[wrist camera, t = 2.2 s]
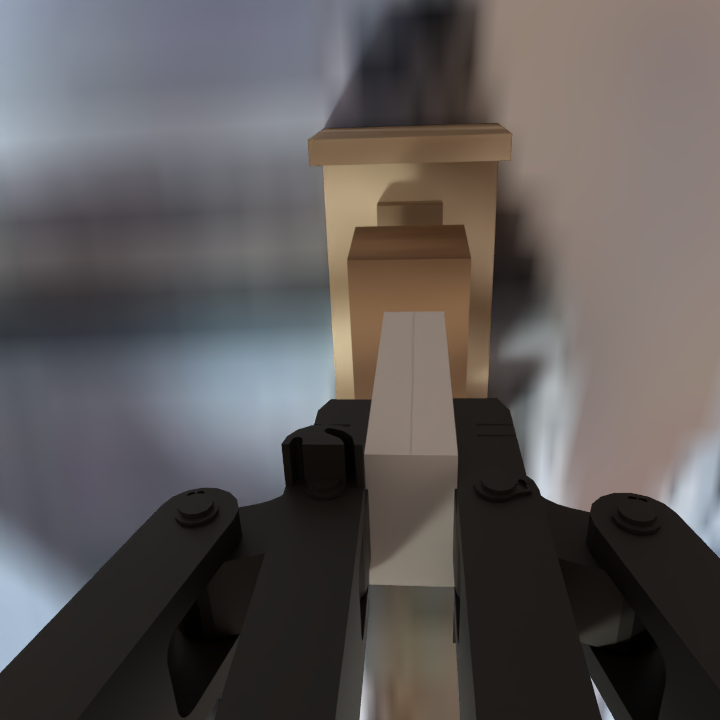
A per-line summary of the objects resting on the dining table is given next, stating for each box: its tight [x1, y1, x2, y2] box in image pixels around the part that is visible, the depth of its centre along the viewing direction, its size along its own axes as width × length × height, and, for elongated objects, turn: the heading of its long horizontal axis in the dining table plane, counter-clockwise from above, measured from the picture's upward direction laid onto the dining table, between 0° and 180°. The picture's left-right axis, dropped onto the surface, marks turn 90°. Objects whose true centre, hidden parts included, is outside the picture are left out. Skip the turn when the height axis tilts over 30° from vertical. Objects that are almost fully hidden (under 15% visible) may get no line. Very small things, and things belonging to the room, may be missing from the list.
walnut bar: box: [347, 225, 471, 399], centre depth 28 cm, size 11×4×4 cm, turn 2°
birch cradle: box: [308, 123, 512, 399], centre depth 32 cm, size 16×8×5 cm, turn 2°
